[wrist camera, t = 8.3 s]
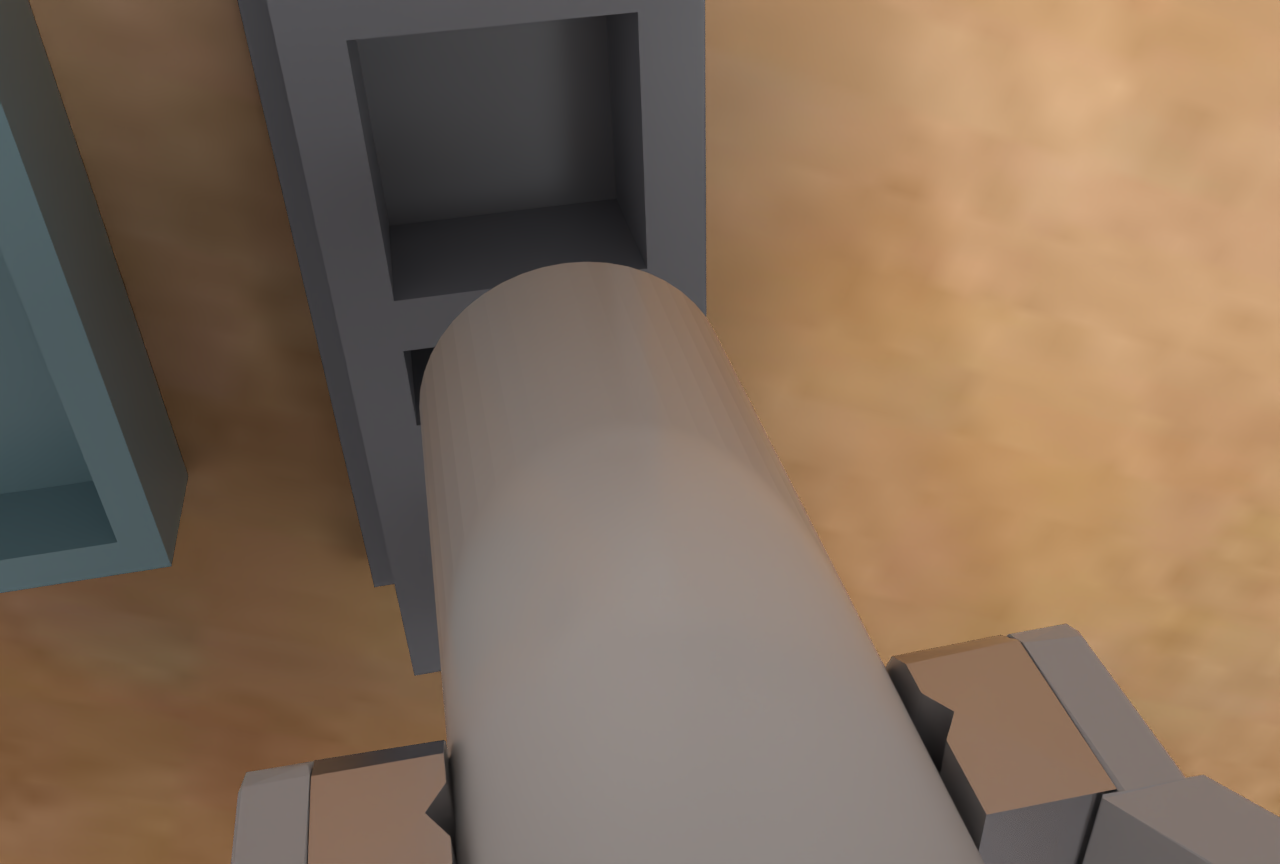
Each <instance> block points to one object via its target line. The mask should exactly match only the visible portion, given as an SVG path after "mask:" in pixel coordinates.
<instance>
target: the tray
mask: <svg viewBox="0 0 1280 864" xmlns="http://www.w3.org/2000/svg"><path fill="white" fill-rule="evenodd" d="M187 480H188V474H187V471H186V468H185V465H184V462H183V459H182V456H181V453H180V450H179V447H178V444H177V441H176V438H175V436H174V433H173V430H172V427H171V424H170V421H169V418H168V415H167V412H166V409H165V406H164V403H163V400H162V397H161V394H160V391H159V388H158V385H157V382H156V379H155V376H154V373H153V370H152V367H151V364H150V361H149V358H148V355H147V352H146V349H145V346H144V343H143V340H142V337H141V334H140V331H139V328H138V325H137V322H136V319H135V316H134V314H133V311H132V308H131V305H130V302H129V299H128V296H127V293H126V290H125V287H124V284H123V281H122V278H121V275H120V272H119V269H118V266H117V263H116V260H115V257H114V254H113V251H112V248H111V245H110V242H109V239H108V236H107V233H106V230H105V227H104V224H103V221H102V218H101V215H100V212H99V209H98V206H97V203H96V200H95V197H94V194H93V191H92V189H91V186H90V183H89V180H88V177H87V174H86V171H85V168H84V165H83V162H82V159H81V156H80V153H79V150H78V147H77V144H76V141H75V138H74V135H73V132H72V129H71V126H70V123H69V120H68V117H67V114H66V111H65V108H64V105H63V102H62V99H61V96H60V93H59V90H58V87H57V84H56V81H55V78H54V75H53V72H52V69H51V67H50V64H49V61H48V58H47V55H46V52H45V49H44V46H43V43H42V40H41V37H40V34H39V31H38V28H37V25H36V22H35V19H34V16H33V13H32V10H31V7H30V4H29V1H28V0H0V593H3V592H10V591H16V590H23V589H29V588H35V587H42V586H48V585H55V584H61V583H67V582H74V581H80V580H87V579H93V578H99V577H106V576H112V575H119V574H125V573H131V572H138V571H144V570H151V569H157V568H163V567H170V566H172V560H173V555H174V550H175V544H176V539H177V533H178V528H179V523H180V517H181V512H182V507H183V501H184V496H185V491H186V485H187Z"/></svg>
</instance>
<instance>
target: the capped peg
mask: <svg viewBox="0 0 1280 864" xmlns="http://www.w3.org/2000/svg"><path fill="white" fill-rule="evenodd" d="M419 410H420V422H421V434H422V446H423V458H424V470H425V483H426V495H427V507H428V519H429V531H430V543H431V555H432V567H433V579H434V591H435V603H436V615H437V627H438V639H439V651H440V663H441V676H442V688H443V700H444V712H445V724H446V736H447V748H448V753H449V757H450V766H451V778H452V789H453V800H454V809H455V821H456V833H455V844H456V856H457V864H985V863H984V861H983V859H982V857H981V855H980V853H979V851H978V849H977V847H976V845H975V843H974V841H973V839H972V837H971V836H970V834H969V832H968V830H967V828H966V826H965V824H964V822H963V820H962V818H961V816H960V814H959V812H958V810H957V808H956V806H955V804H954V802H953V800H952V798H951V796H950V794H949V792H948V790H947V788H946V786H945V784H944V782H943V780H942V778H941V776H940V774H939V772H938V770H937V768H936V767H935V765H934V763H933V761H932V759H931V757H930V755H929V753H928V751H927V749H926V747H925V745H924V743H923V741H922V739H921V737H920V735H919V733H918V731H917V729H916V727H915V725H914V723H913V721H912V719H911V717H910V715H909V713H908V711H907V709H906V707H905V705H904V703H903V701H902V699H901V698H900V696H899V694H898V692H897V690H896V688H895V686H894V684H893V682H892V680H891V678H890V676H889V674H888V672H887V670H886V668H885V666H884V664H883V662H882V660H881V658H880V656H879V654H878V652H877V650H876V648H875V646H874V644H873V642H872V640H871V638H870V636H869V634H868V632H867V630H866V629H865V627H864V625H863V623H862V621H861V619H860V617H859V615H858V613H857V611H856V609H855V607H854V605H853V603H852V601H851V599H850V597H849V595H848V593H847V591H846V589H845V587H844V585H843V583H842V581H841V579H840V577H839V575H838V573H837V571H836V569H835V567H834V565H833V563H832V561H831V560H830V558H829V556H828V554H827V552H826V550H825V548H824V546H823V544H822V542H821V540H820V538H819V536H818V534H817V532H816V530H815V528H814V526H813V524H812V522H811V520H810V518H809V516H808V514H807V512H806V510H805V508H804V506H803V504H802V502H801V500H800V498H799V496H798V494H797V492H796V491H795V489H794V487H793V485H792V483H791V481H790V479H789V477H788V475H787V473H786V471H785V469H784V467H783V465H782V463H781V461H780V459H779V457H778V455H777V453H776V451H775V449H774V447H773V445H772V443H771V441H770V439H769V437H768V435H767V433H766V431H765V429H764V427H763V425H762V423H761V422H760V420H759V418H758V416H757V414H756V412H755V410H754V408H753V406H752V404H751V402H750V400H749V398H748V396H747V394H746V392H745V390H744V388H743V386H742V384H741V382H740V380H739V378H738V376H737V374H736V372H735V370H734V368H733V366H732V364H731V362H730V360H729V358H728V356H727V354H726V353H725V351H724V349H723V347H722V345H721V343H720V341H719V339H718V337H717V335H716V333H715V331H714V329H713V328H712V326H711V324H710V323H709V321H708V319H707V318H706V316H705V315H704V314H703V313H702V312H701V310H700V309H699V308H698V307H697V306H696V304H695V303H694V302H693V301H691V300H690V299H689V298H688V297H687V296H686V295H685V294H684V293H682V292H681V291H680V290H678V289H677V288H675V287H674V286H672V285H671V284H669V283H668V282H666V281H664V280H662V279H660V278H658V277H656V276H654V275H651V274H649V273H647V272H644V271H641V270H638V269H634V268H631V267H628V266H623V265H617V264H611V263H602V262H574V263H563V264H557V265H552V266H547V267H542V268H539V269H536V270H532V271H529V272H526V273H523V274H520V275H518V276H516V277H514V278H511V279H509V280H507V281H505V282H503V283H501V284H499V285H497V286H496V287H494V288H492V289H491V290H489V291H487V292H486V293H484V294H483V295H481V296H480V297H479V298H478V299H476V300H475V301H474V302H472V303H471V304H470V305H469V306H467V307H466V308H465V309H464V310H463V311H462V312H461V313H460V314H459V315H458V316H457V317H456V318H455V319H454V320H453V321H452V323H451V324H450V325H449V327H448V328H447V329H446V331H445V332H444V333H443V335H442V336H441V337H440V339H439V341H438V343H437V344H436V346H435V348H434V350H433V352H432V353H431V355H430V358H429V361H428V363H427V366H426V369H425V371H424V375H423V380H422V384H421V389H420V403H419Z"/></svg>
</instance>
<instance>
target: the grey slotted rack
mask: <svg viewBox="0 0 1280 864" xmlns="http://www.w3.org/2000/svg"><path fill="white" fill-rule="evenodd" d="M238 5H239V9H240V13H241V17H242V22H243V26H244V30H245V35H246V39H247V43H248V47H249V52H250V56H251V60H252V65H253V69H254V73H255V77H256V82H257V86H258V90H259V95H260V99H261V103H262V107H263V112H264V116H265V120H266V124H267V129H268V133H269V137H270V142H271V146H272V150H273V154H274V159H275V163H276V167H277V172H278V176H279V180H280V184H281V189H282V193H283V197H284V202H285V206H286V210H287V214H288V219H289V223H290V227H291V232H292V236H293V240H294V244H295V249H296V253H297V257H298V262H299V266H300V270H301V274H302V279H303V283H304V287H305V292H306V296H307V300H308V304H309V309H310V313H311V317H312V321H313V326H314V330H315V334H316V339H317V343H318V347H319V351H320V356H321V360H322V364H323V369H324V373H325V377H326V381H327V386H328V390H329V394H330V399H331V403H332V407H333V411H334V416H335V420H336V424H337V429H338V433H339V437H340V441H341V446H342V450H343V454H344V459H345V463H346V467H347V471H348V476H349V480H350V484H351V489H352V493H353V497H354V501H355V506H356V510H357V514H358V518H359V523H360V527H361V531H362V536H363V540H364V544H365V548H366V553H367V557H368V561H369V566H370V570H371V574H372V578H373V583H374V587H378V586H384V585H390V584H395V589H396V593H397V598H398V602H399V607H400V611H401V616H402V621H403V625H404V630H405V634H406V639H407V643H408V648H409V652H410V657H411V662H412V666H413V671H414V675H421V674H427V673H432V672H438V671H441V663H440V651H439V639H438V627H437V615H436V603H435V591H434V579H433V567H432V555H431V543H430V531H429V519H428V507H427V495H426V483H425V470H424V458H423V446H422V434H421V422H420V410H419V403H420V389H421V384H422V380H423V375H424V371H425V369H426V366H427V363H428V361H429V358H430V355H431V353H432V352H433V350H434V348H435V346H436V344H437V343H438V341H439V339H440V337H441V336H442V335H443V333H444V332H445V331H446V329H447V328H448V327H449V325H450V324H451V323H452V321H453V320H454V319H455V318H456V317H457V316H458V315H459V314H460V313H461V312H462V311H463V310H464V309H465V308H466V307H467V306H469V305H470V304H471V303H472V302H474V301H475V300H476V299H478V298H479V297H480V296H481V295H483V294H484V293H486V292H487V291H489V290H491V289H492V288H494V287H496V286H497V285H499V284H501V283H503V282H505V281H507V280H509V279H511V278H514V277H516V276H518V275H520V274H523V273H526V272H529V271H532V270H536V269H539V268H542V267H547V266H552V265H557V264H563V263H574V262H602V263H611V264H617V265H623V266H628V267H631V268H634V269H638V270H641V271H644V272H647V273H649V274H651V275H654V276H656V277H658V278H660V279H662V280H664V281H666V282H668V283H669V284H671V285H672V286H674V287H675V288H677V289H678V290H680V291H681V292H682V293H684V294H685V295H686V296H687V297H688V298H689V299H690V300H691V301H693V302H694V303H695V304H696V306H697V307H698V308H699V309H700V310H701V312H702V313H703V314H704V315H705V316H706V137H705V0H238Z"/></svg>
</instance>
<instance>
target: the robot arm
mask: <svg viewBox="0 0 1280 864" xmlns="http://www.w3.org/2000/svg"><path fill="white" fill-rule="evenodd" d="M886 670H887V672H888V674H889V676H890V678H891V680H892V682H893V684H894V686H895V688H896V690H897V692H898V694H899V696H900V698H901V699H902V701H903V703H904V705H905V707H906V709H907V711H908V713H909V715H910V717H911V719H912V721H913V723H914V725H915V727H916V729H917V731H918V733H919V735H920V737H921V739H922V741H923V743H924V745H925V747H926V749H927V751H928V753H929V755H930V757H931V759H932V761H933V763H934V765H935V767H936V768H937V770H938V772H939V774H940V776H941V778H942V780H943V782H944V784H945V786H946V788H947V790H948V792H949V794H950V796H951V798H952V800H953V802H954V804H955V806H956V808H957V810H958V812H959V814H960V816H961V818H962V820H963V822H964V824H965V826H966V828H967V830H968V832H969V834H970V836H971V837H972V839H973V841H974V843H975V845H976V847H977V849H978V851H979V853H980V855H981V857H982V859H983V861H984V863H985V864H1280V817H1279V816H1277V815H1275V814H1273V813H1271V812H1270V811H1268V810H1266V809H1264V808H1262V807H1261V806H1259V805H1257V804H1255V803H1253V802H1252V801H1250V800H1248V799H1246V798H1245V797H1243V796H1241V795H1239V794H1237V793H1236V792H1234V791H1232V790H1230V789H1228V788H1227V787H1225V786H1223V785H1221V784H1219V783H1218V782H1216V781H1214V780H1212V779H1210V778H1209V777H1207V776H1205V775H1198V776H1192V777H1185V776H1184V774H1183V773H1182V772H1181V770H1180V769H1179V768H1178V766H1177V765H1176V764H1175V762H1174V761H1173V759H1172V758H1171V757H1170V755H1169V754H1168V753H1167V751H1166V750H1165V748H1164V747H1163V746H1162V744H1161V743H1160V742H1159V740H1158V739H1157V738H1156V736H1155V735H1154V733H1153V732H1152V731H1151V729H1150V728H1149V727H1148V725H1147V724H1146V723H1145V721H1144V720H1143V718H1142V717H1141V716H1140V714H1139V713H1138V712H1137V710H1136V709H1135V708H1134V706H1133V705H1132V703H1131V702H1130V701H1129V699H1128V698H1127V697H1126V695H1125V694H1124V692H1123V691H1122V690H1121V688H1120V687H1119V686H1118V684H1117V683H1116V682H1115V680H1114V679H1113V677H1112V676H1111V675H1110V673H1109V672H1108V671H1107V669H1106V668H1105V667H1104V665H1103V664H1102V662H1101V661H1100V660H1099V658H1098V657H1097V656H1096V654H1095V653H1094V652H1093V650H1092V649H1091V647H1090V646H1089V645H1088V643H1087V642H1086V641H1085V639H1084V638H1083V637H1082V635H1081V634H1080V632H1079V631H1077V630H1076V629H1074V628H1072V627H1071V626H1069V625H1068V624H1062V625H1056V626H1051V627H1046V628H1040V629H1035V630H1029V631H1024V632H1019V633H1013V634H1009V635H1007V636H1003V635H998V636H992V637H987V638H982V639H977V640H972V641H967V642H962V643H957V644H952V645H947V646H941V647H936V648H931V649H926V650H921V651H916V652H911V653H906V654H901V655H896V656H892V657H891V659H890V661H889V662H888V664H887V666H886ZM455 833H456V821H455V809H454V800H453V789H452V778H451V766H450V757H449V753H448V749H447V745H446V741H445V740H441V741H435V742H428V743H422V744H416V745H409V746H403V747H396V748H390V749H384V750H377V751H371V752H365V753H358V754H352V755H345V756H339V757H333V758H326V759H320V760H315V761H311V762H305V763H299V764H293V765H287V766H281V767H275V768H269V769H263V770H257V771H251V772H246V774H245V777H244V779H243V782H242V784H241V787H240V789H239V792H238V800H237V810H236V820H235V829H234V839H233V849H232V859H231V864H457V856H456V844H455Z"/></svg>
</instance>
